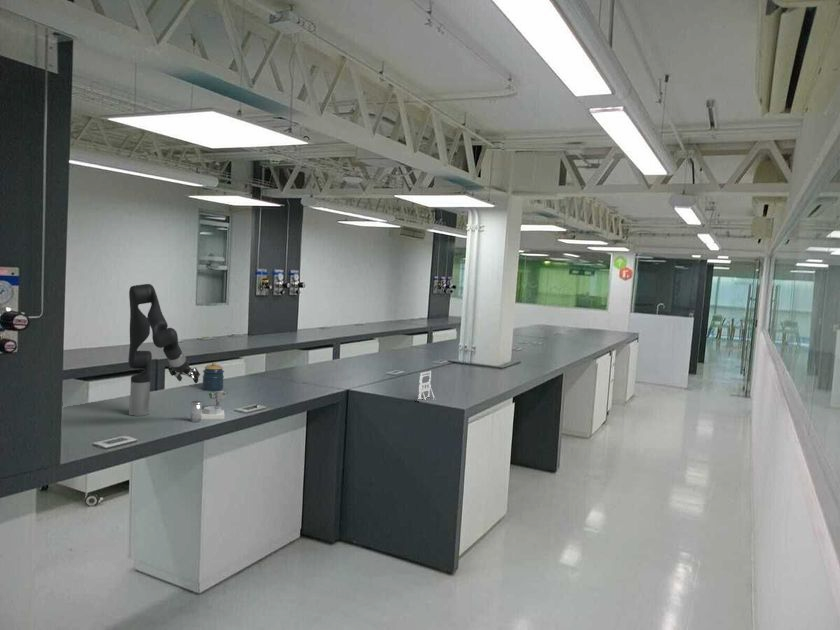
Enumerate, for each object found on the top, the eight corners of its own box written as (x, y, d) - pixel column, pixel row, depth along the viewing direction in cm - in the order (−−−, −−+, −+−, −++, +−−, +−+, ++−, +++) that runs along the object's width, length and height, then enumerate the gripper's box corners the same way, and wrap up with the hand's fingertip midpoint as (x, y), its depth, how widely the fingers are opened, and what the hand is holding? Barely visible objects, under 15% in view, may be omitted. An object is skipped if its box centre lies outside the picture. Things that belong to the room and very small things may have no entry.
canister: (197, 388, 390) (199, 361, 389) (214, 386, 401) (215, 360, 400) (210, 392, 383) (212, 364, 382) (227, 389, 394) (228, 362, 392)
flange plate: (200, 419, 314) (200, 410, 314) (200, 413, 325) (200, 405, 325) (224, 418, 318) (224, 410, 318) (223, 413, 329) (224, 405, 329)
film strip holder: (419, 398, 407) (421, 369, 406) (437, 401, 400) (439, 371, 399) (408, 401, 394) (410, 371, 393) (426, 405, 388) (428, 374, 386)
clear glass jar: (190, 422, 306) (190, 403, 306) (190, 420, 311) (191, 400, 311) (201, 422, 308) (202, 403, 307) (201, 419, 313) (202, 400, 313)
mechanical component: (207, 409, 335) (208, 392, 335) (224, 407, 343) (225, 390, 342) (210, 410, 333) (210, 393, 333) (227, 409, 340) (228, 391, 340)
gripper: (160, 364, 286) (172, 385, 298) (188, 368, 284) (198, 388, 295) (167, 352, 291) (178, 373, 303) (194, 355, 289) (205, 376, 300)
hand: (188, 380), depth 299 cm, fingers open, 8 cm apart
